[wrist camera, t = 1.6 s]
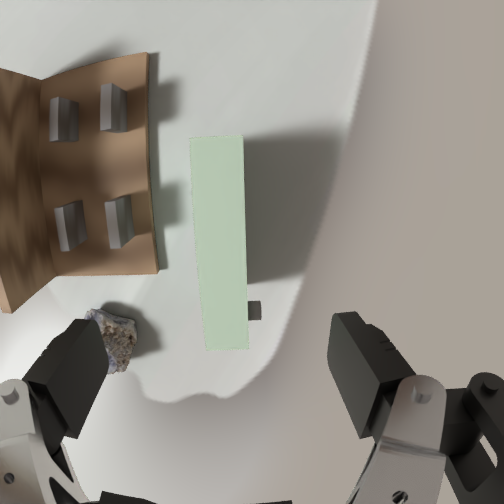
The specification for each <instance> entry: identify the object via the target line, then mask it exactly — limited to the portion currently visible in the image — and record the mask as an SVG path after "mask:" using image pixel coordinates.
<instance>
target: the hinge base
mask: <svg viewBox="0 0 504 504" xmlns="http://www.w3.org/2000/svg"><path fill="white" fill-rule="evenodd" d="M148 75H149V54H148V53H147V52H143V53H138V54H132V55H127V56H122V57H118V58H113V59H109V60H105V61H101V62H97V63H93V64H90V65H86V66H83V67H79V68H76V69H72V70H69V71H66V72H63V73H60V74H57V75H54V76H51V77H49V78H46V79H43V80H39V79H36V78H33V77H30V76H26V75H23V74H20V73H16V72H13V71H9V70H5V69H2V68H0V307H1V310H2V312H3V313H11V314H12V313H13V312H14V311H16V310H17V309H18V308H19V307H20V306H21V305H22V304H23V303H25V302H26V301H27V300H28V299H29V298H31V297H32V296H33V295H34V294H35V293H36V292H37V291H39V290H40V289H41V288H42V287H44V286H45V285H46V284H47V283H48V282H50V281H51V280H52V279H53V278H55V277H56V276H100V275H143V274H157V273H158V272H159V265H158V257H157V249H156V240H155V231H154V221H153V210H152V197H151V183H150V166H149V141H148Z"/></svg>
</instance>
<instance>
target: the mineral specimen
mask: <svg viewBox="0 0 504 504" xmlns="http://www.w3.org/2000/svg"><path fill="white" fill-rule="evenodd" d="M84 319H91V320H96V321H97V323H98V325H99V328H100V331H101V335H102V338H103V341H104V345H105V348H106V351H107V354H108V358H109V369H108V373H107V374H114V373H115V372H116V371H117V372H124V371H125V370H126V369H127V366H128V364H129V360H130V355H131V354H132V348H133V347H134V346H135V343H137V330H136V324H135V321H134V320H131V319H128V318H123V317H118V316H115V315H111V314H109V313H108V312H106V311H104V310H101V309H98V310H95V309H91V310H90V311H87V313H86V315H85V318H84Z"/></svg>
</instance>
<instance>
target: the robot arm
mask: <svg viewBox="0 0 504 504" xmlns="http://www.w3.org/2000/svg"><path fill="white" fill-rule="evenodd" d="M327 358H328V365H329V369H330V371H331V373H332V376H333V378H334V380H335V382H336V385H337V387H338V389H339V391H340V394H341V396H342V399H343V401H344V403H345V405H346V408H347V410H348V412H349V415H350V417H351V420H352V422H353V424H354V426H355V429H356V431H357V433H358V436H359V438H360V439H362V438H366V437H370V436H373V438H374V441H375V443H374V446H373V448H372V450H371V453H370V455H369V457H368V459H367V462H366V464H365V466H364V469H363V471H362V473H361V475H360V477H359V479H358V481H357V483H356V486H355V487H354V489H353V491H352V493H351V495H350V497H349V499H348V500H347V502H346V504H436V502H437V499H438V495H439V491H440V487H441V483H442V478H443V473H444V471H445V473H446V475H447V477H448V480H449V482H450V484H451V486H452V488H453V490H454V493H455V495H456V497H457V499H458V501H459V504H504V380H503V379H501V378H500V377H499V376H497V375H495V374H492V373H487V372H484V373H478V374H476V375H474V376H473V377H472V378H471V380H470V382H469V384H468V386H467V388H459V389H445V388H444V386H443V385H442V384H441V383H440V382H439V381H437V380H436V379H434V378H432V377H429V376H425V375H416V373H415V372H414V371H413V369H412V368H411V367H410V365H409V364H408V363H407V362H406V360H405V359H404V358H403V357H402V355H401V354H400V352H399V351H398V350H396V347H395V346H394V345H393V344H392V342H390V340H389V338H388V337H387V336H386V335H385V333H384V332H383V331H382V330H380V329H378V328H377V327H375V326H373V325H372V324H365V322H364V321H363V320H362V318H361V317H360V316H359V314H358V313H357V312H355V311H354V312H344V313H335V314H334V315H333V317H332V322H331V329H330V337H329V344H328V352H327ZM108 369H109V358H108V354H107V351H106V348H105V345H104V341H103V338H102V335H101V331H100V328H99V325H98V323H97V321H96V320H91V319H75V320H74V321H73V322H72V323H71V325H70V326H69V327H68V328H67V329H66V330H65V332H63V333H61V334H60V335H58V336H57V337H55V338H54V339H53V340H52V341H51V342H50V344H49V345H48V346H47V349H45V350H44V351H43V352H42V354H41V356H39V358H38V359H37V360H36V361H35V363H34V364H33V365H32V367H31V368H30V369H29V371H28V372H27V373H26V374H25V376H24V377H23V378H22V380H19V379H10V380H7V381H5V382H3V383H1V384H0V504H156V503H153V502H151V501H148V500H145V499H141V498H135V497H129V496H123V495H119V494H114V493H109V492H105V491H102V493H101V497H100V500H99V501H91V502H90V501H89V499H88V498H87V497H86V495H85V494H84V492H83V490H82V489H81V486H80V484H79V482H78V480H77V477H76V475H75V472H74V470H73V467H72V465H71V462H70V459H69V456H68V454H67V451H66V448H65V446H64V444H63V443H62V439H63V437H64V436H67V437H71V438H75V439H78V436H79V434H80V432H81V429H82V427H83V425H84V423H85V420H86V418H87V416H88V414H89V411H90V409H91V407H92V405H93V402H94V400H95V398H96V396H97V394H98V392H99V390H100V388H101V385H102V383H103V381H104V379H105V377H106V375H107V373H108ZM483 435H484V436H485V437H486V438H487V440H488V442H489V443H490V445H491V447H492V448H493V449H494V451H495V453H496V455H497V460H498V462H497V467H496V468H495V466H494V464H493V463H492V461H491V459H490V457H489V456H488V454H487V453H486V451H485V449H484V448H483V446H482V444H481V443H480V441H479V440H480V439H481V438H482V436H483ZM259 504H292V501H291V500H290V501H281V502H271V503H259Z"/></svg>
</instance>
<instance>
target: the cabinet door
mask: <svg viewBox="0 0 504 504" xmlns="http://www.w3.org/2000/svg"><path fill="white" fill-rule="evenodd" d="M190 162H191V184H192V203H193V219H194V233H195V246H196V258H197V270H198V281H199V291H200V301H201V310H202V319H203V327H204V336H205V344H206V351H213V350H241V349H249V332H248V320H261V302H260V301H248V300H247V267H246V232H245V195H244V154H243V135H237V136H213V137H196V138H190Z"/></svg>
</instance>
